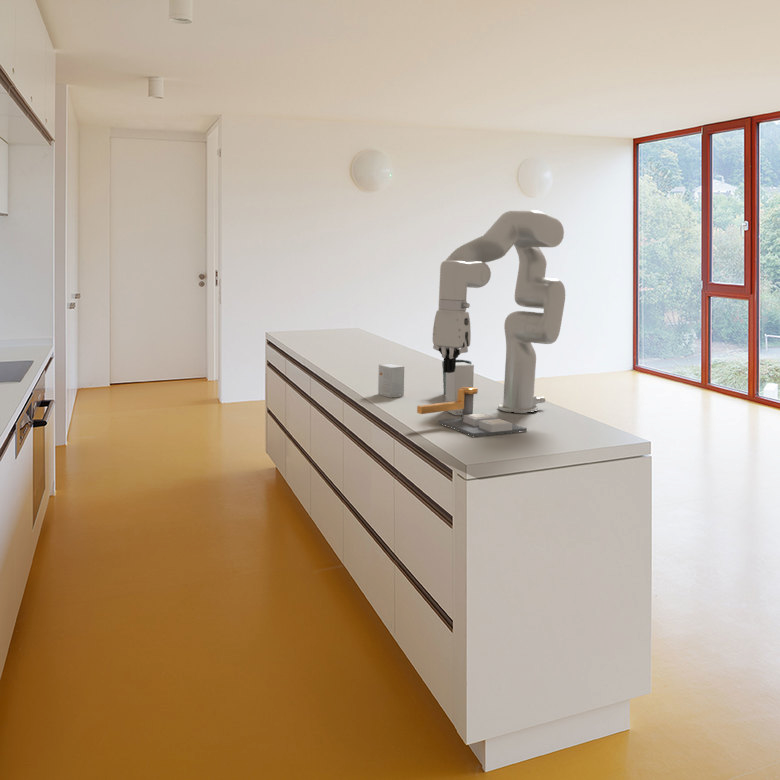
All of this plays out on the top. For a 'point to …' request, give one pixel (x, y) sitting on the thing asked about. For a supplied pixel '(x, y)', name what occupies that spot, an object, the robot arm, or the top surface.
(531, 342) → the robot arm
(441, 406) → the orange crank handle
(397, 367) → the small box
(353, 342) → the top surface
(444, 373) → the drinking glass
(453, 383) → the skincare box
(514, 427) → the sled board
